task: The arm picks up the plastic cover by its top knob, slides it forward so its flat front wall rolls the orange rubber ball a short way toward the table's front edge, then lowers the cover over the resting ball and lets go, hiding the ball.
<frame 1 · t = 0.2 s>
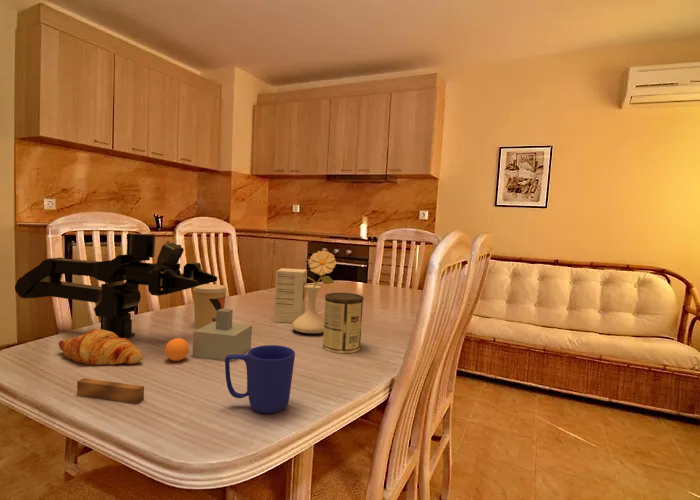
hand: (208, 281, 102), 17 cm above the table, tool horizontal, fingers open, 9 cm apart
coffee can: (341, 348, 110), on the table
ball: (177, 349, 92), on the table
croissant: (99, 361, 91), on the table
supplement box: (289, 320, 137), on the table
mug: (257, 407, 72), on the table
flower in vase: (312, 332, 123), on the table
coffee cup: (208, 326, 123), on the table
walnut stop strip: (110, 397, 72), on the table
cover: (223, 352, 100), on the table
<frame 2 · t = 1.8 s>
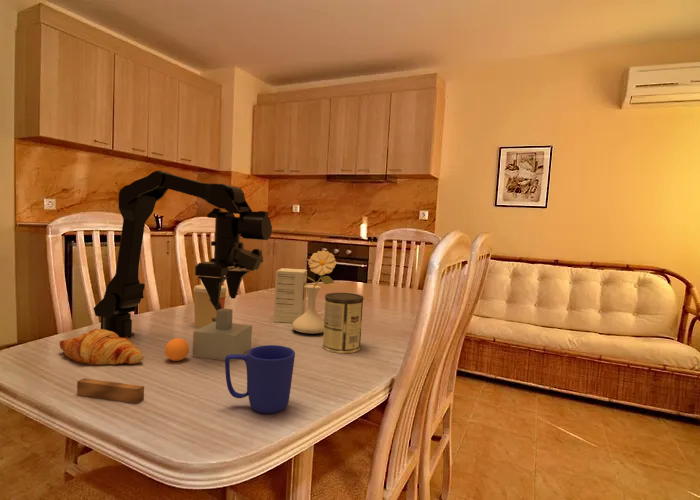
hand: (224, 301, 99), 13 cm above the table, tool pointing down, fingers open, 9 cm apart
nothing on the table moved.
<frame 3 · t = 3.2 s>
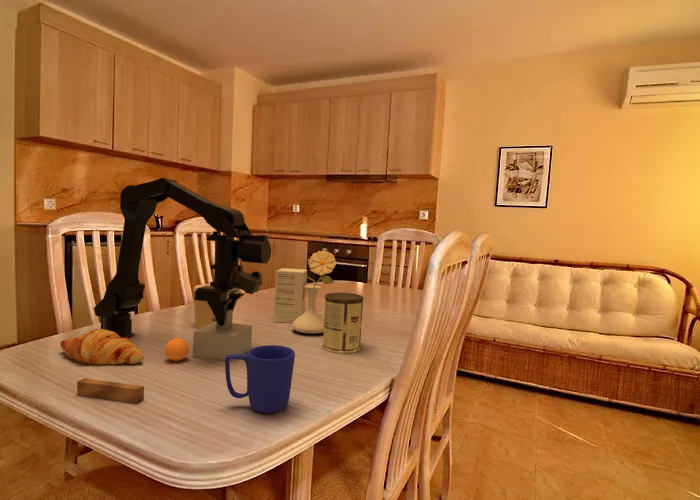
hand: (224, 324, 99), 7 cm above the table, tool pointing down, fingers closed on cover, 3 cm apart
cover: (223, 352, 100), on the table, touching gripper
everything else where it was.
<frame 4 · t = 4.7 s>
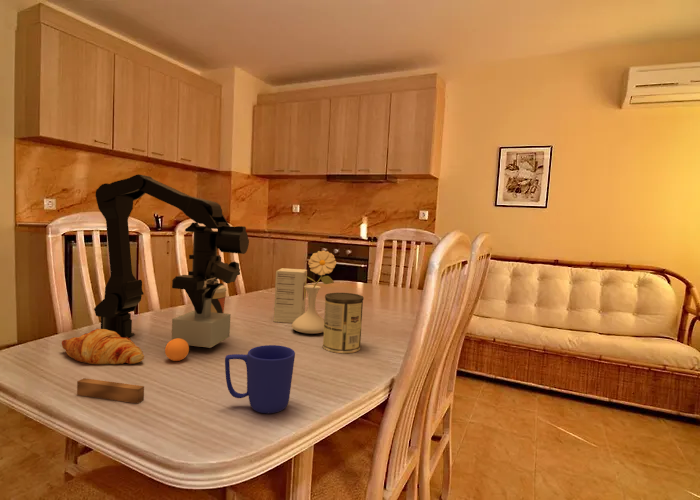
hand: (202, 312, 103), 9 cm above the table, tool pointing down, fingers closed on cover, 3 cm apart
cover: (201, 339, 103), point 2 cm above the table, touching gripper
everything else where it was.
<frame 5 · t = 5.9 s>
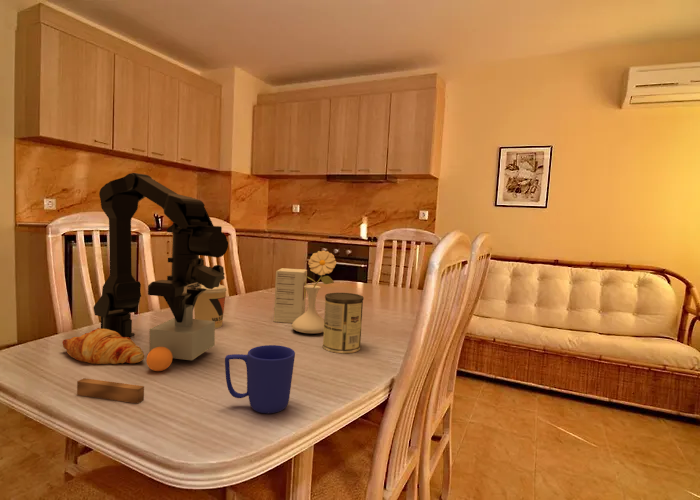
hand: (183, 320, 94), 9 cm above the table, tool pointing down, fingers closed on cover, 3 cm apart
ball: (159, 358, 86), on the table
cover: (183, 350, 95), point 2 cm above the table, touching gripper
everything else where it was.
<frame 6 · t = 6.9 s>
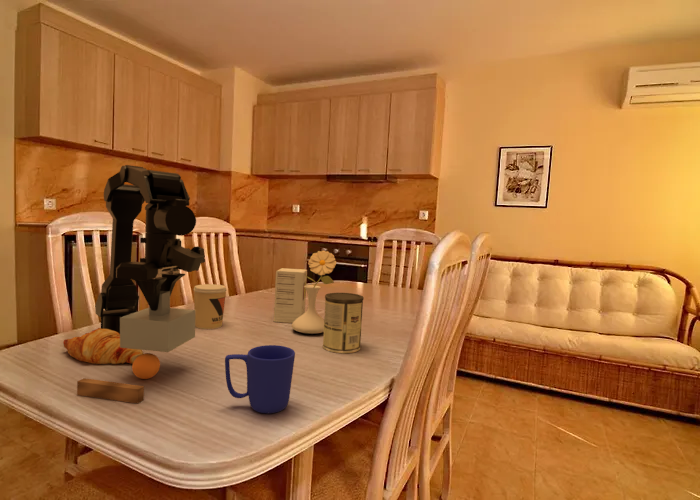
hand: (159, 308, 84), 13 cm above the table, tool pointing down, fingers closed on cover, 3 cm apart
ball: (146, 365, 82), on the table
cover: (159, 342, 85), point 6 cm above the table, touching gripper
everything else where it was.
when the fingers open (7 cm above the table, at t = 9.9 s): cover stays where it is, on the table.
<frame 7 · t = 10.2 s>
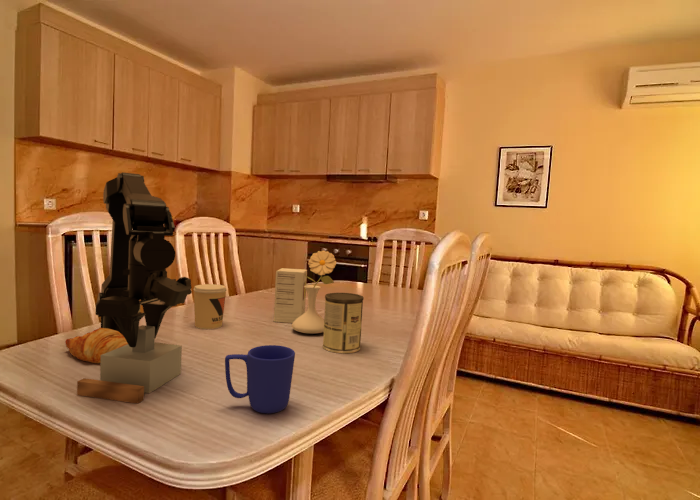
hand: (142, 342, 80), 7 cm above the table, tool pointing down, fingers open, 6 cm apart
cover: (142, 379, 81), on the table
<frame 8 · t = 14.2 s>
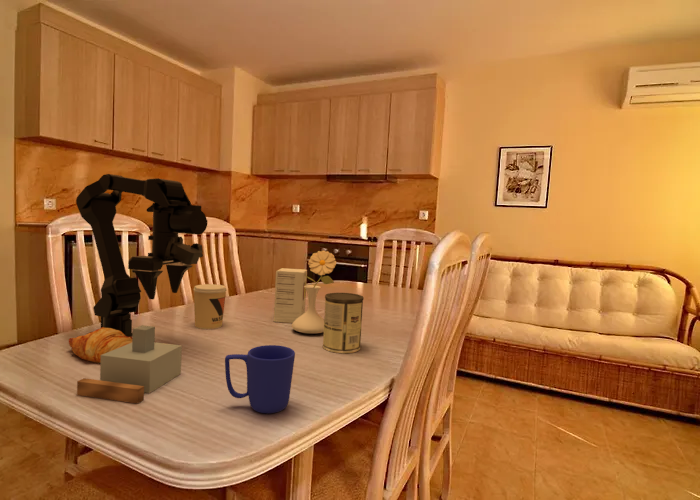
hand: (163, 295, 99), 13 cm above the table, tool pointing down, fingers open, 9 cm apart
at the end: ball 0.9 cm from the cover (horizontally); cover on the table; ball moved 11.0 cm from its start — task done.
